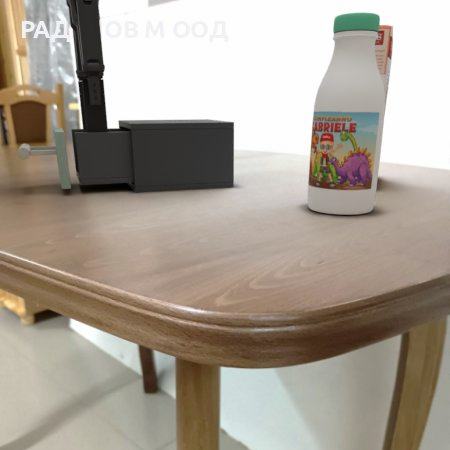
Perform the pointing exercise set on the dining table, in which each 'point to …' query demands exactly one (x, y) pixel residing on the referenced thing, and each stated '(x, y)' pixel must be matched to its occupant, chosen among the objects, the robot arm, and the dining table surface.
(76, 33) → the robot arm
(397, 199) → the dining table surface
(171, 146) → the dark grey box
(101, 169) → the drawer
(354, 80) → the milk bottle
